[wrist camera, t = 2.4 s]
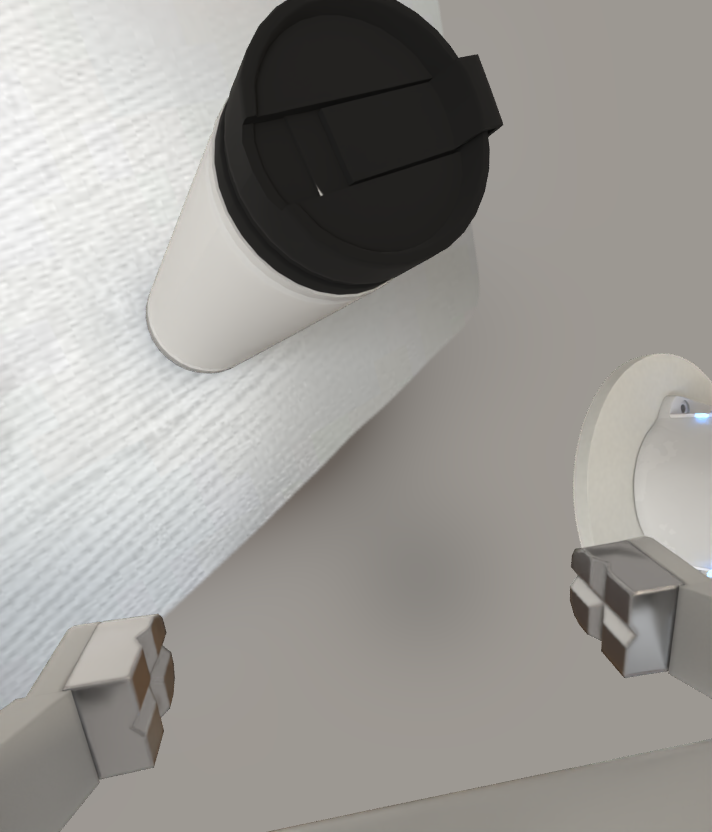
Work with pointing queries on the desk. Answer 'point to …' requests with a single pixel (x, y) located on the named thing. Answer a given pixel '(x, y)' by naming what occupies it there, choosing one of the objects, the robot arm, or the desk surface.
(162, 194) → the desk surface
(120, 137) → the desk surface
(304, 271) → the travel mug
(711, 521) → the robot arm
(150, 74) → the desk surface
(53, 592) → the desk surface
